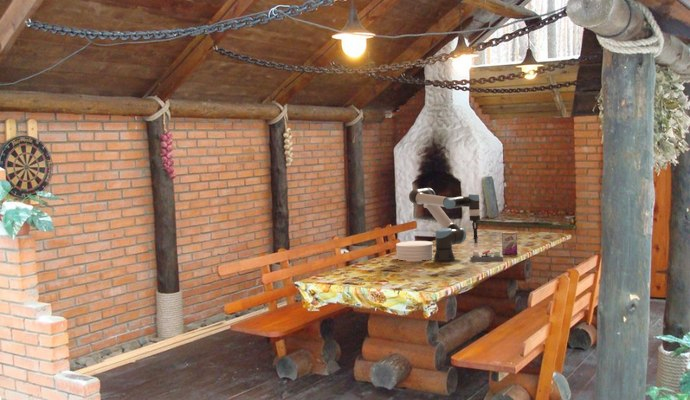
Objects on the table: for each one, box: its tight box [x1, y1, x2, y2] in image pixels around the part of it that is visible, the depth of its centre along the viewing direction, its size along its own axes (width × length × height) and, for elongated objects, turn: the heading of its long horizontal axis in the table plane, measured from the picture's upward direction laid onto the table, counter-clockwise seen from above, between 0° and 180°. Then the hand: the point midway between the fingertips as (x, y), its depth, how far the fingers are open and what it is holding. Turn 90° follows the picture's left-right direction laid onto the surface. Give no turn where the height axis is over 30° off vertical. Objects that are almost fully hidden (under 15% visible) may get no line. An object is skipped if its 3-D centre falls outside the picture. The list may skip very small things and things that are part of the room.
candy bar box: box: [501, 231, 518, 255], centre depth 514 cm, size 11×5×16 cm, turn 74°
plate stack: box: [395, 240, 434, 262], centre depth 515 cm, size 28×28×12 cm
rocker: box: [481, 249, 491, 255], centre depth 492 cm, size 6×4×2 cm
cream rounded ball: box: [472, 250, 480, 257], centre depth 493 cm, size 4×4×4 cm
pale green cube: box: [493, 250, 501, 256], centre depth 490 cm, size 4×4×4 cm
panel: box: [469, 253, 504, 262], centre depth 492 cm, size 23×8×4 cm, turn 78°
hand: (476, 247), depth 493 cm, fingers closed
